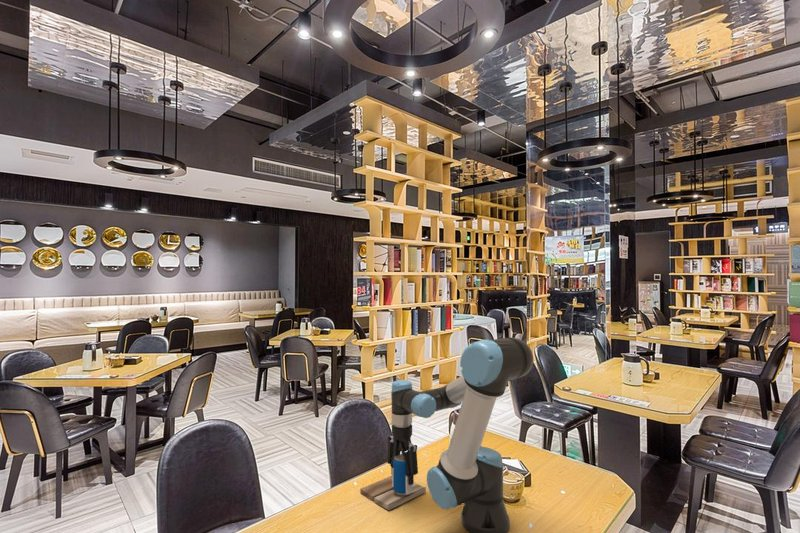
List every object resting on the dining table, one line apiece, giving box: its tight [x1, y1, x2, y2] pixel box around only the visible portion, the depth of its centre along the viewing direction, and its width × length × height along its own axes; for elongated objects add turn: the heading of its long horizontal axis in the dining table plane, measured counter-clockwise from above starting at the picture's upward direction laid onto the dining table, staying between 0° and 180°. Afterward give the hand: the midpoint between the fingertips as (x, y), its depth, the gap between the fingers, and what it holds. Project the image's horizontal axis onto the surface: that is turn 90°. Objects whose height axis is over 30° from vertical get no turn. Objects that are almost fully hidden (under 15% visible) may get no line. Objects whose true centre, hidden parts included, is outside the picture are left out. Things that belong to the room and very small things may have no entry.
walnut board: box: [359, 475, 393, 503], centre depth 148 cm, size 8×18×2 cm, turn 132°
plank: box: [374, 482, 427, 511], centre depth 142 cm, size 8×18×2 cm, turn 132°
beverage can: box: [393, 453, 407, 495], centre depth 141 cm, size 6×6×12 cm
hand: (402, 489), depth 141 cm, fingers open, 7 cm apart
